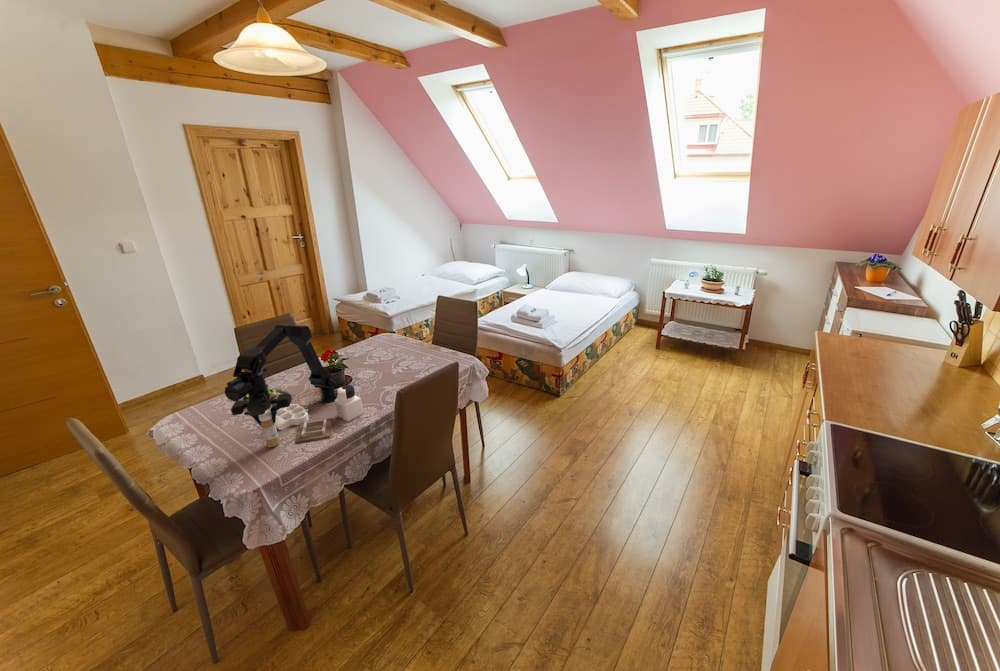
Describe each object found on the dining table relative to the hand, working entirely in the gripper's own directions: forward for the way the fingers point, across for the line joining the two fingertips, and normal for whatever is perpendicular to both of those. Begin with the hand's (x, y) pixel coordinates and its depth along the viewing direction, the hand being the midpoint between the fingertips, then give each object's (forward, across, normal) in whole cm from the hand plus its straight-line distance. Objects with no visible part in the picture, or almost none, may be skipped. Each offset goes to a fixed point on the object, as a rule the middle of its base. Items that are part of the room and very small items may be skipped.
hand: (267, 423), depth 155 cm
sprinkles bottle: (+9, 0, 0) cm, 9 cm away
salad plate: (+10, -13, +40) cm, 43 cm away
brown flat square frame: (+10, +14, +5) cm, 18 cm away
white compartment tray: (+10, +2, +18) cm, 21 cm away
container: (+10, +27, +13) cm, 32 cm away
